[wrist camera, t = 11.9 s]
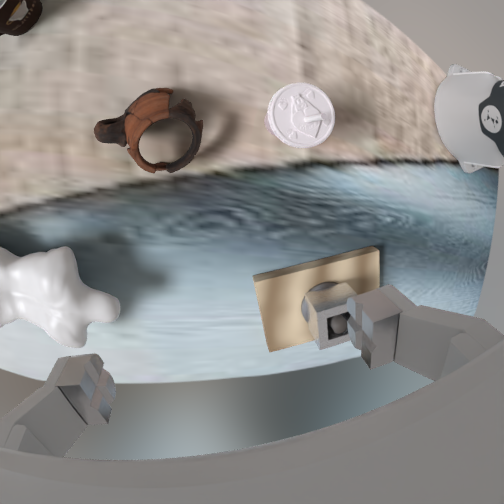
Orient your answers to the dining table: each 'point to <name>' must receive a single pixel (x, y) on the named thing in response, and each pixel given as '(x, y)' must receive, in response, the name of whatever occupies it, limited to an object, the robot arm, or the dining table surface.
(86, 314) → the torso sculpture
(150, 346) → the dining table surface
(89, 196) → the dining table surface
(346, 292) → the grey hollow square block
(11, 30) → the coffee mug
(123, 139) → the brown hollow curved piece
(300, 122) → the smoothie
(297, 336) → the post block
